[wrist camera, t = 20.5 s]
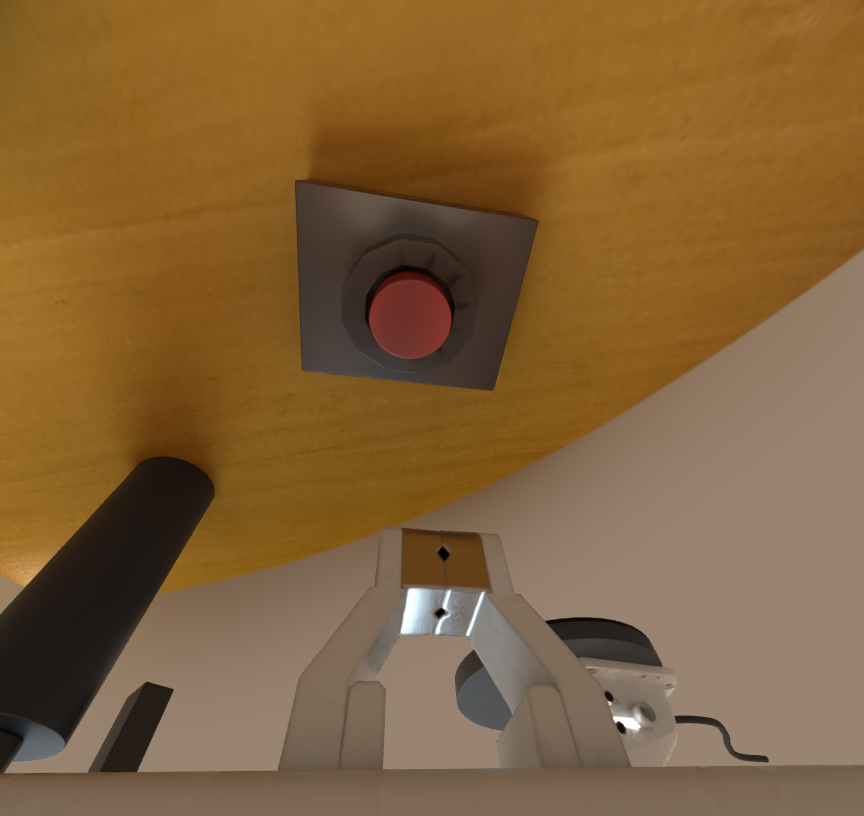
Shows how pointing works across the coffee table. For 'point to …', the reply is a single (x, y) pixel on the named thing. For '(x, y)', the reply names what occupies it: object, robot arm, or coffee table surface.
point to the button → (410, 315)
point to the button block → (397, 252)
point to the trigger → (132, 730)
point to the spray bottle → (91, 605)
